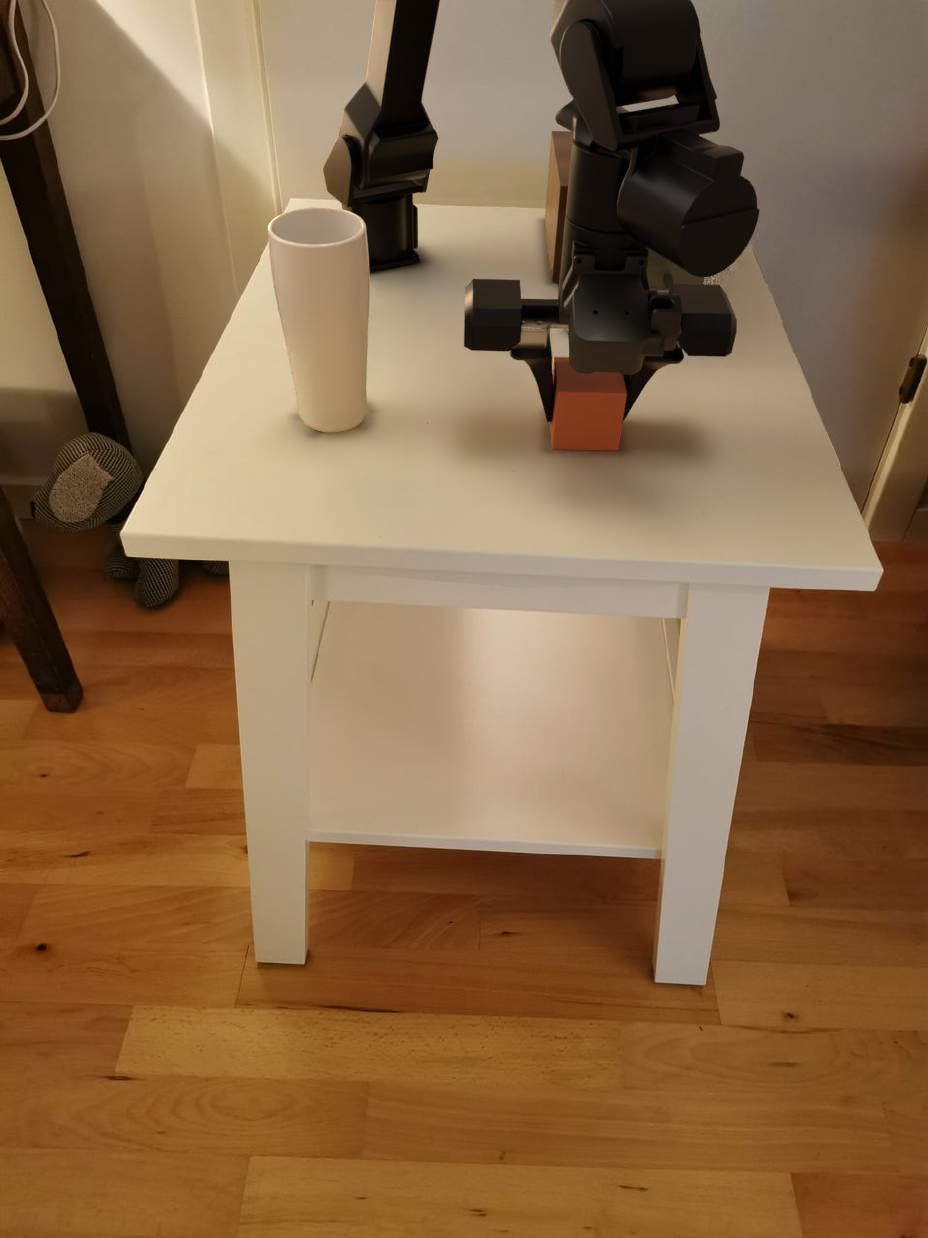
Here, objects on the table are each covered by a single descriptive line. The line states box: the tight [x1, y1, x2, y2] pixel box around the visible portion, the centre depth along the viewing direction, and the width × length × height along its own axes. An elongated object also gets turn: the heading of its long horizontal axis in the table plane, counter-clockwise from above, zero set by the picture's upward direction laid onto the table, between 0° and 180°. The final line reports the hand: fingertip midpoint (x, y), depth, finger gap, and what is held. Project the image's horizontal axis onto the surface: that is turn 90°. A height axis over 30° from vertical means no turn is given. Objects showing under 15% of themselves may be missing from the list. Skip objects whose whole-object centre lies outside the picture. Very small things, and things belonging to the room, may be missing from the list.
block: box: [549, 356, 627, 452], centre depth 73 cm, size 5×5×5 cm
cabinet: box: [544, 130, 573, 283], centre depth 96 cm, size 15×13×9 cm
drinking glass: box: [267, 206, 371, 433], centre depth 71 cm, size 7×7×15 cm
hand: (583, 420), depth 74 cm, fingers closed on block, 5 cm apart
